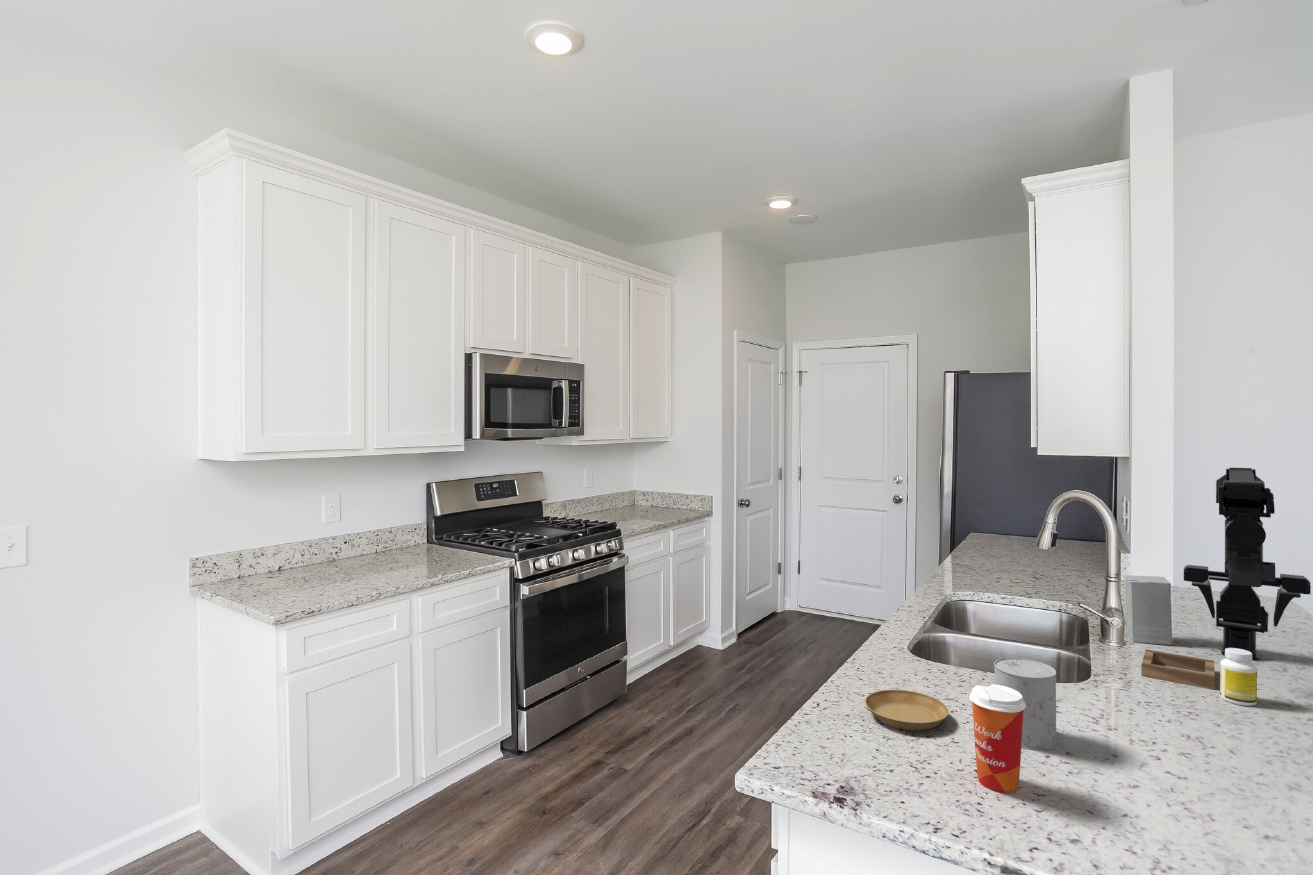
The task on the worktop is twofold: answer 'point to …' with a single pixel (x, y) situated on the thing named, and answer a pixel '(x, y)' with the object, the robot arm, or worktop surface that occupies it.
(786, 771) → the worktop surface
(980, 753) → the paper cup
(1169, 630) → the skincare box
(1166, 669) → the brown wooden frame
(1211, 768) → the worktop surface
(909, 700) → the plant saucer
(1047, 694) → the grey concrete cylinder
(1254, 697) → the supplement bottle
